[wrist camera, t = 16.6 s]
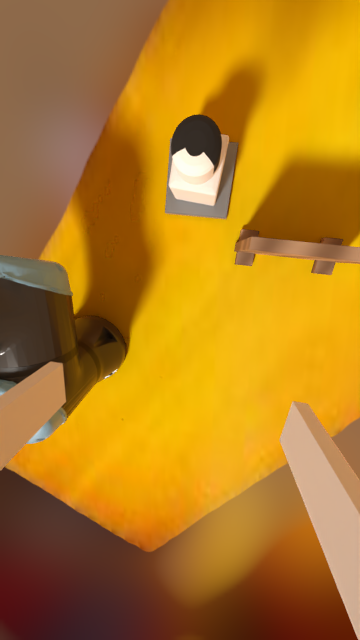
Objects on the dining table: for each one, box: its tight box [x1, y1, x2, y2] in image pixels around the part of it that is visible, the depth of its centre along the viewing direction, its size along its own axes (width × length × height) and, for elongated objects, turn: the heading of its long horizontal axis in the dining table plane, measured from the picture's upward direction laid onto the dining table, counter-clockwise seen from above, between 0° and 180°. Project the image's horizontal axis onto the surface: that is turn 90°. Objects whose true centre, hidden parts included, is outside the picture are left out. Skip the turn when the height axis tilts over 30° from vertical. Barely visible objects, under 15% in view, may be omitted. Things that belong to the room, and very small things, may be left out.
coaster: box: [165, 138, 238, 219], centre depth 35 cm, size 11×11×1 cm
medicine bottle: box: [169, 115, 229, 206], centre depth 29 cm, size 7×7×12 cm
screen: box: [234, 229, 360, 275], centre depth 31 cm, size 18×6×14 cm, turn 84°
